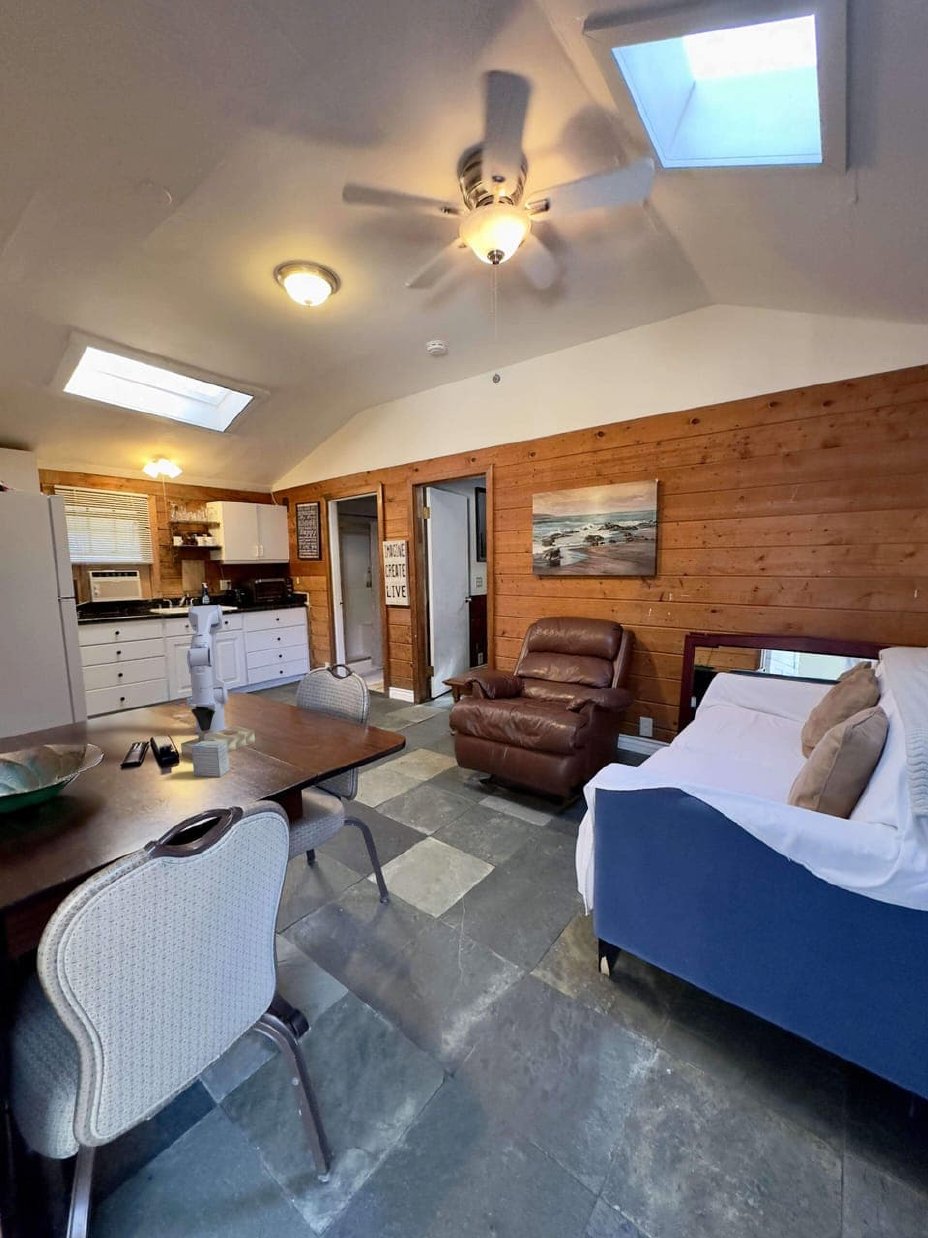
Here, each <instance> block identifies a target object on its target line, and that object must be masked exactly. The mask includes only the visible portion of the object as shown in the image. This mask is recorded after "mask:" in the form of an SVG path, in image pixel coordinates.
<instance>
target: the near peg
mask: <svg viewBox="0 0 928 1238" xmlns="http://www.w3.org/2000/svg"><path fill="white" fill-rule="evenodd" d="M197 735H198V737H197V738H199V742H201V741H214V732H213V731H212V730H207V731H200V732H198V733H197Z"/></svg>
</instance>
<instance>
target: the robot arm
mask: <svg viewBox="0 0 928 1238" xmlns="http://www.w3.org/2000/svg"><path fill="white" fill-rule="evenodd" d="M187 611H188V621H189V623H190V627H191V628H192V630H193V631H194V633H193V634H192V636H191V640H190V648H189V650H187V652H186V663H187V666H188V673H189V674H190V684H191V685H190V686H191V697H188V698H186V704H187V706H189V707H191V708H192V707H193V708H192V709H190V710H191V713H192V714H193V715H194V718H195V721H196V722H195V724H196V729H195V730H194V731H193V732H194V733H197V734H198V732H200V731H207V730H212V731H213V732H217V731H220V730H223V729H227V728H230V727H229V726H226V717H225V716H226V715H225V705H227V704H228V703H229V702H228V700H229V696H228V695H229V693H228V686H227V682H226V681H224V680H223V679H221V678H220V677H218V660H217V659H218V658H217V643H216V640H217V637H216V636H217V633H218V631H220V630H222V629H223V625H224V623H223V609H222V606H221V605H220V604H217V605H200V606H194V605H191V606H190V607H189V608H188V610H187ZM194 707H195V708H194Z"/></svg>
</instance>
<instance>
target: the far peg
mask: <svg viewBox="0 0 928 1238" xmlns="http://www.w3.org/2000/svg"><path fill="white" fill-rule="evenodd" d="M235 733H238V731H234V730H230V731H227V732H224V733H223V734H225V735H232V734H235Z"/></svg>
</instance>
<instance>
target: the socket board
mask: <svg viewBox="0 0 928 1238" xmlns="http://www.w3.org/2000/svg"><path fill="white" fill-rule="evenodd" d="M230 730H234V731H238V733H235V734H232V735H225V734H223V733H224V732H227V731H230ZM214 741H222V742H227V748H228V753H230V752H233V751H235V750H238V749H241V748H243V747H246V746H249V745H252V744H254V743H255V742H256V738H255V730H254V729H249V728H245V727H241V726H237V725H233V726H231V727H229V728H227V729H223V730H220V731H217V732H214ZM197 743H199V737H197V738H192V739H190V740H187V741H184V742H181V743H180V748H181V756H182V757H183V758H187V759H189V760H192V761H193V758H192V746H194V745H195V744H197Z"/></svg>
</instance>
